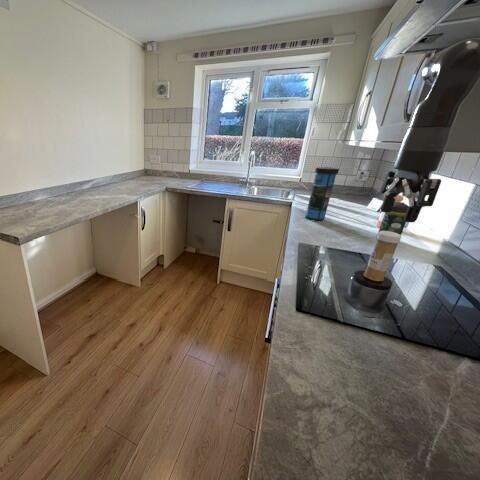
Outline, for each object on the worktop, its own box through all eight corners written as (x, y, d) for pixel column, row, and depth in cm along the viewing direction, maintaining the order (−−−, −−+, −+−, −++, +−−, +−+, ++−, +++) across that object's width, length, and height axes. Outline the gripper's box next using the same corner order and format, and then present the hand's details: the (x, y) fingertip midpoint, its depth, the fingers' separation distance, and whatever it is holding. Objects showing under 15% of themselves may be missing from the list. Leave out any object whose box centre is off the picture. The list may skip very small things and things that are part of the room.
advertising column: (327, 218, 157) (341, 168, 145) (322, 223, 149) (336, 169, 138) (307, 215, 164) (319, 166, 152) (301, 218, 156) (313, 167, 145)
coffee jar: (374, 235, 132) (387, 199, 125) (394, 238, 128) (408, 201, 121) (378, 241, 124) (392, 204, 117) (399, 245, 121) (415, 206, 113)
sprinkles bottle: (359, 273, 74) (374, 230, 69) (375, 274, 74) (391, 230, 69) (371, 282, 70) (388, 236, 65) (388, 282, 70) (406, 236, 65)
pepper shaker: (385, 229, 140) (398, 194, 133) (372, 225, 146) (384, 192, 139) (395, 229, 141) (409, 194, 134) (382, 224, 148) (394, 191, 141)
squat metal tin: (369, 300, 80) (380, 271, 76) (388, 319, 71) (402, 288, 67) (337, 297, 81) (346, 268, 77) (352, 316, 73) (364, 285, 69)
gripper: (469, 151, 52) (436, 226, 58) (416, 147, 65) (393, 209, 71) (428, 150, 53) (399, 224, 59) (383, 147, 66) (363, 208, 72)
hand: (396, 216), depth 65 cm, fingers open, 8 cm apart
